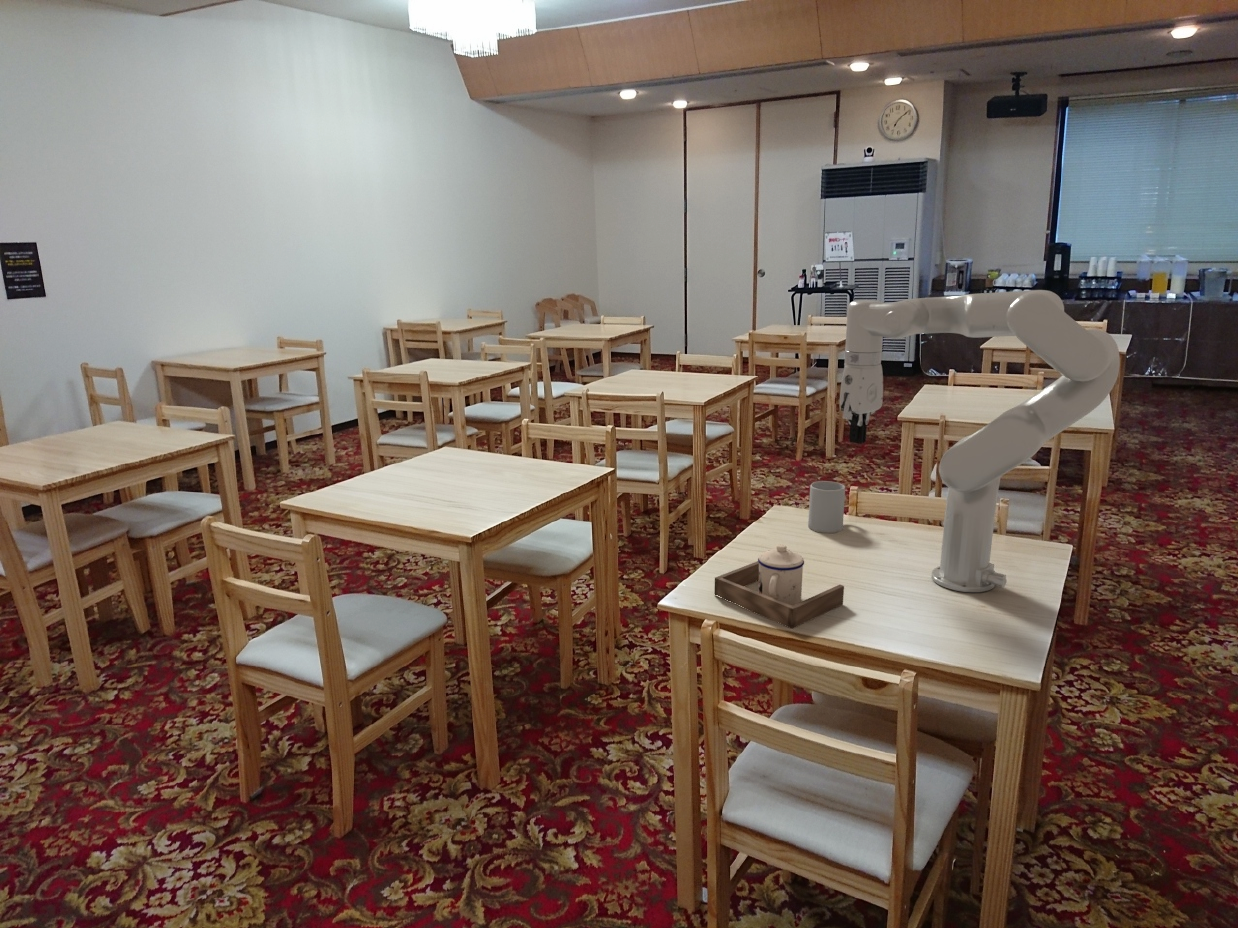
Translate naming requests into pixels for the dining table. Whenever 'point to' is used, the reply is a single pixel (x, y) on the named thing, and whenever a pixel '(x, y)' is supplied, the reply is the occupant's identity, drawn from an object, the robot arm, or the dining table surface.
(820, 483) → the mug
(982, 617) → the dining table surface
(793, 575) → the teacup with lid
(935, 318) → the robot arm
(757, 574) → the box
